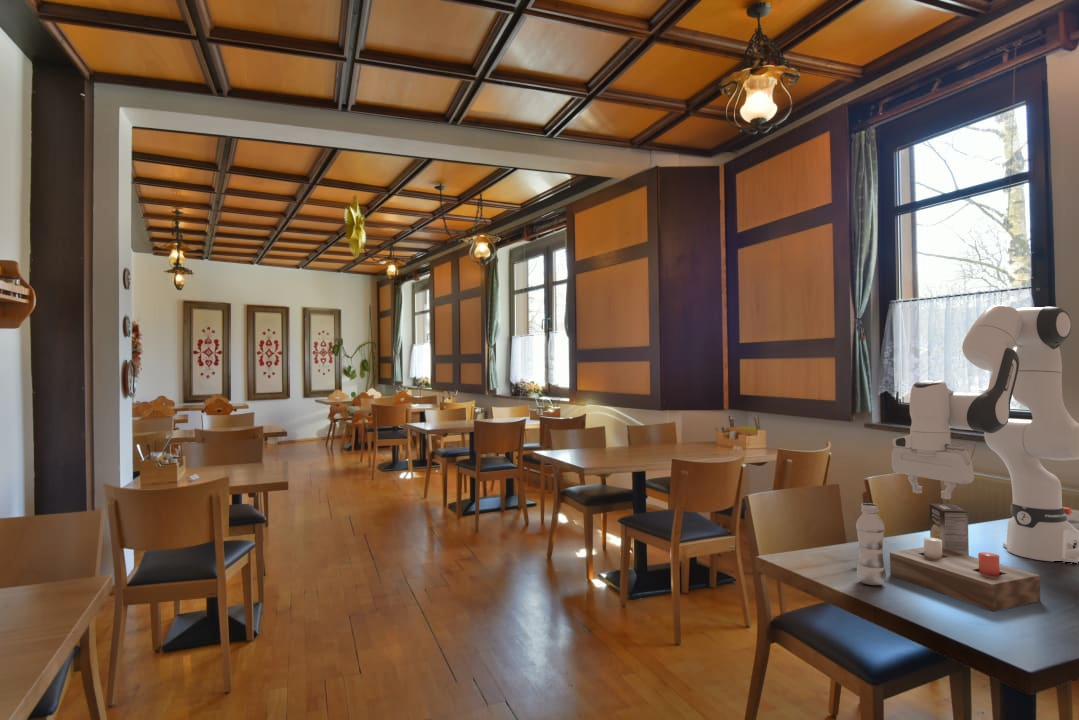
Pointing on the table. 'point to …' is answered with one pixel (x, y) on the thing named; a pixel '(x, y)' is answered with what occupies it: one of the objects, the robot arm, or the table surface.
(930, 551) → the plug
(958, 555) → the plug housing
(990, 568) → the red plug
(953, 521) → the coffee box
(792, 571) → the table surface
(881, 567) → the plastic bottle
